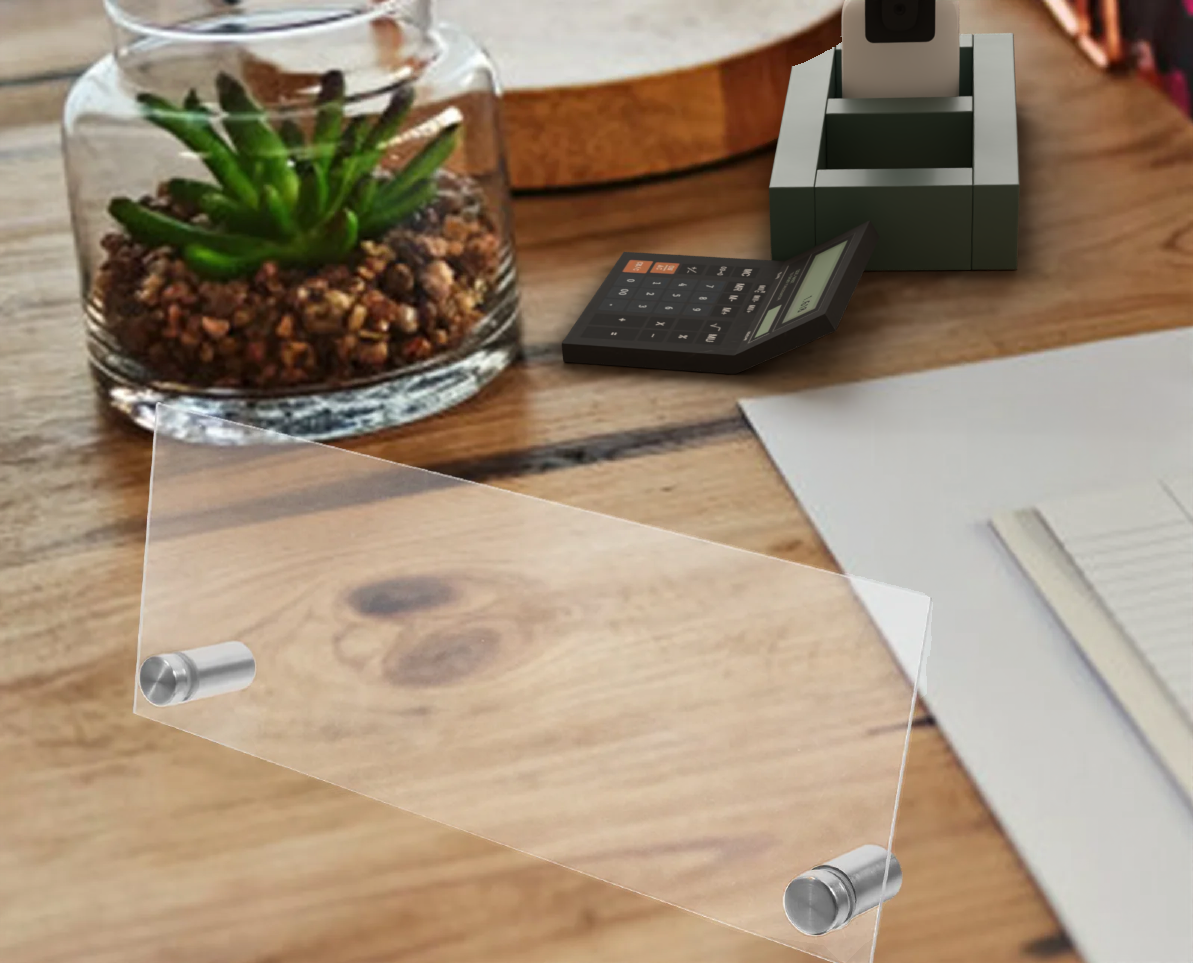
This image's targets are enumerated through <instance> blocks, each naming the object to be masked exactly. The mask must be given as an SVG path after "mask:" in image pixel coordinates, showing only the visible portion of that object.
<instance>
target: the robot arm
mask: <svg viewBox="0 0 1193 963" xmlns="http://www.w3.org/2000/svg"><path fill="white" fill-rule="evenodd" d="M935 5H936V0H865V37H866V39H867V41H868V42H870V43H907V42H929V41H931V40H932V39H933V38H934V36H935Z"/></svg>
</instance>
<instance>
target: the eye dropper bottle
mask: <svg viewBox="0 0 1193 963" xmlns="http://www.w3.org/2000/svg"><path fill="white" fill-rule="evenodd" d="M960 10H961V9H960V1H959V0H936V5H935V36H934V38H933V39H932V40H931V41H929V42H907V43H870V42H868V41H867V39H866V37H865V0H844V1H843V4H842V10H841V37H842V99H849V98H909V97H959V45H960V34H961V29H960V28H961V27H960V26H961V24H960V23H961V22H960V20H961V18H960V16H961V15H960V13H961V12H960Z"/></svg>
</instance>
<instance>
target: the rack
mask: <svg viewBox="0 0 1193 963" xmlns="http://www.w3.org/2000/svg"><path fill="white" fill-rule="evenodd" d="M1014 36H1015V34H1014V33H1013V32H999V33H998V32H994V33H993V32H991V33H990V32H989V33H985V32H984V33H960V45H959V97H909V98H849V99H842V42H841V43H839V44H838V45H836V47H832V49H830V50H827V51H825V52H824V53H822V54H820V55H818V56H816V57H814V58H812V59H810V60H808V61H806V62H804V63H801V64H798V65H795V66H792V65H791V69H790V74H789V80H788V85H787V90H786V96H785V102H784V106H783V112H782V117H781V121H780V128H779V132H778V137H777V144H776V149H775V154H774V160H773V164H772V170H771V175H770V179H769V185H768V202H769V203H768V204H769V206H768V207H769V237H770V238H769V241H770V243H769V244H770V260H774V261H786V260H789V259H791V258H793V257H795V256H797V255H799V254H801V253H803V252H805V251H807V250H809V249H811V248H814V247H816V246H818V245H820V244H822V243H824V242H826V241H828V240H830V239H832V238H834V237H836V236H839V235H841V234H843V233H845V232H847V231H849V230H851V229H853V228H855V227H857V226H859V225H861V224H864V223H866V222H868V221H871V223H872V224H873V226H874V228H875V230H876V231H877V233H878V235H879V236H880V238H879V240H878V242H877V244H876V246H875V248H874V250H873V252H872V255H871V257H870V259H869V261H868V263H867V265H866V267H865V269H864V272H865V271H869V272H871V271H874V272H875V271H971V270H972V271H980V270H981V271H985V270H987V271H989V270H990V271H992V270H993V271H994V270H995V271H997V270H1001V271H1002V270H1005V271H1007V270H1008V271H1009V270H1013V271H1014V270H1015V271H1016V270H1018V261H1019V260H1018V257H1019V255H1018V254H1019V228H1020V227H1019V225H1020V197H1021V196H1020V194H1021V193H1020V192H1021V182H1020V180H1021V179H1020V157H1019V132H1018V106H1017V105H1018V104H1017V83H1016V82H1017V80H1016V58H1015V37H1014Z"/></svg>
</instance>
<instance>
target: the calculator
mask: <svg viewBox="0 0 1193 963" xmlns="http://www.w3.org/2000/svg"><path fill="white" fill-rule="evenodd" d="M879 238H880V236H879V235H878V233H877V231H876V230H875V228H874V226H873V224H872V223H871V221H868V222H866V223H864V224H861V225H859V226H857V227H855V228H853V229H851V230H849V231H847V232H845V233H843V234H841V235H839V236H836V237H834V238H832V239H830V240H828V241H826V242H824V243H822V244H820V245H818V246H816V247H814V248H811V249H809V250H807V251H805V252H803V253H801V254H799V255H797V256H795V257H793V258H791V259H789V260H786V261H774V260H771V259H755V258H737V257H723V256H719V257H718V256H703V255H689V254H688V255H687V254H671V253H670V254H668V253H652V252H651V253H650V252H638V251H637V252H634V251H623V252H622V254H621V255H620V256H619V258H618V259H617V261H616V262H615V263H614V265H613V266H612V268H611V269H610V271H609V273H608V274H607V276H606V277H605V278H604V280H603V281H602V283H601V284H600V286H599V288H598V289H597V290H596V292H595V293H594V295H593V297H592V298H591V299H590V300H589V302H588V303H587V305H586V307H585V308H584V310H583V311H582V313H580V315H579V317H578V318H577V319H576V321H575V322H574V324H573V326H571V328H570V329H569V332H568V333H567V335H566V336H565V337H564V339H563V340H562V342H561V352H562V362H563V363H574V364H575V363H576V364H589V365H591V364H592V365H601V366H604V365H605V366H617V367H618V366H619V367H631V368H644V369H645V368H646V369H658V370H673V371H684V372H685V371H686V372H698V373H702V372H703V373H713V374H727V375H736V374H739V373H741V372H743V371H746V370H748V369H750V368H753V367H755V366H757V365H760V364H762V363H764V362H767V361H769V360H772V359H774V358H777V357H779V356H781V355H783V354H786V353H788V352H790V351H793V350H794V349H797V348H800V347H802V346H804V345H806V344H809V343H812V342H814V341H817V340H818V339H821V338H823V337H825V336H828V335H830V334H832V333H835V332H837V329H838V327H839V325H840V323H841V320H842V318H843V316H844V315H845V312H846V310H847V309H848V308H847V307H848V306H849V303H850V301H851V299H852V298H853V295H854V293H855V291H856V289H857V286H858V284H859V283H860V280H861V278H862V276H863V273H864V272H865V271H864V269H865V267H866V265H867V263H868V261H869V259H870V257H871V255H872V252H873V250H874V248H875V246H876V244H877V242H878V240H879Z"/></svg>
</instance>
